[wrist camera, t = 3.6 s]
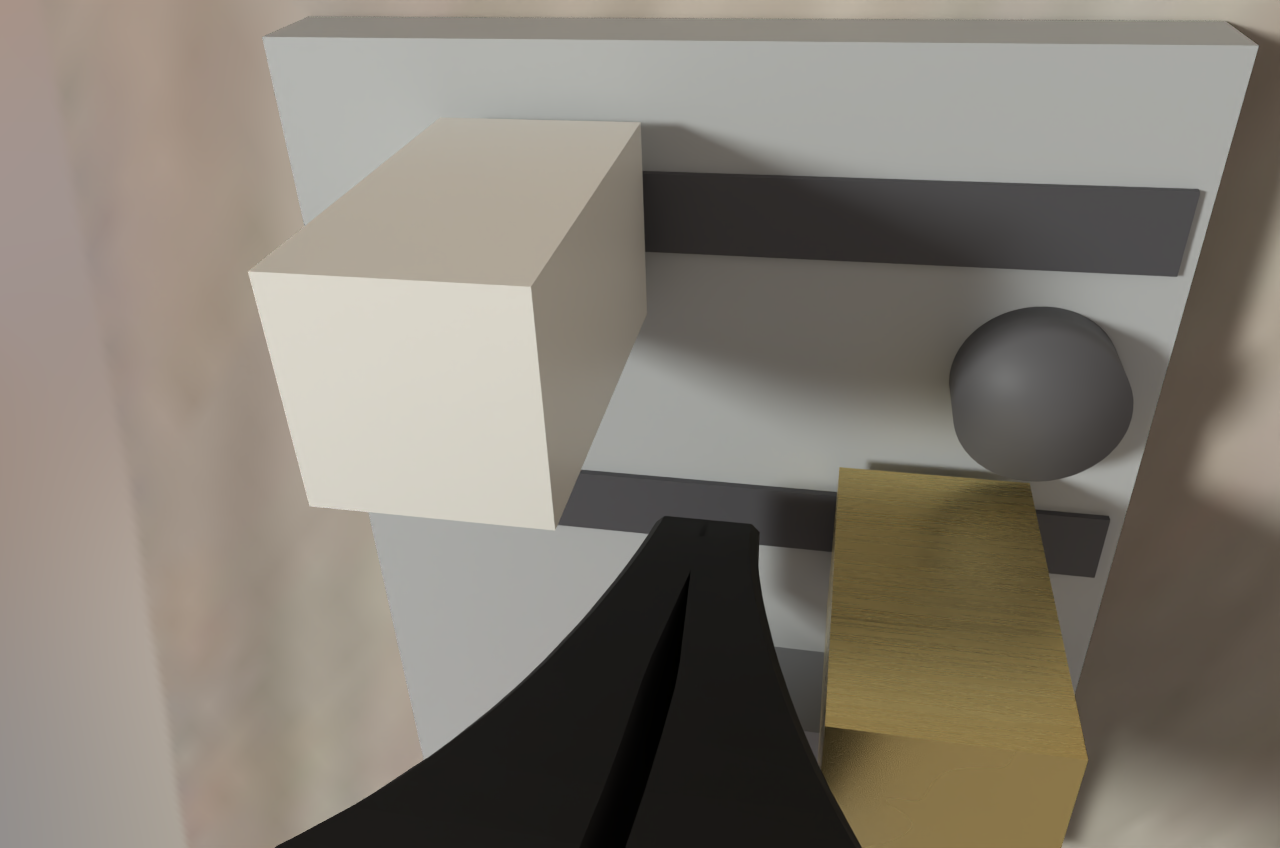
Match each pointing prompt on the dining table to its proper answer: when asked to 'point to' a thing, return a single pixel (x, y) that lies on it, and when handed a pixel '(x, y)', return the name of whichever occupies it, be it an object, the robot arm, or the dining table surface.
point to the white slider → (462, 320)
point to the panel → (810, 288)
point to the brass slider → (945, 668)
